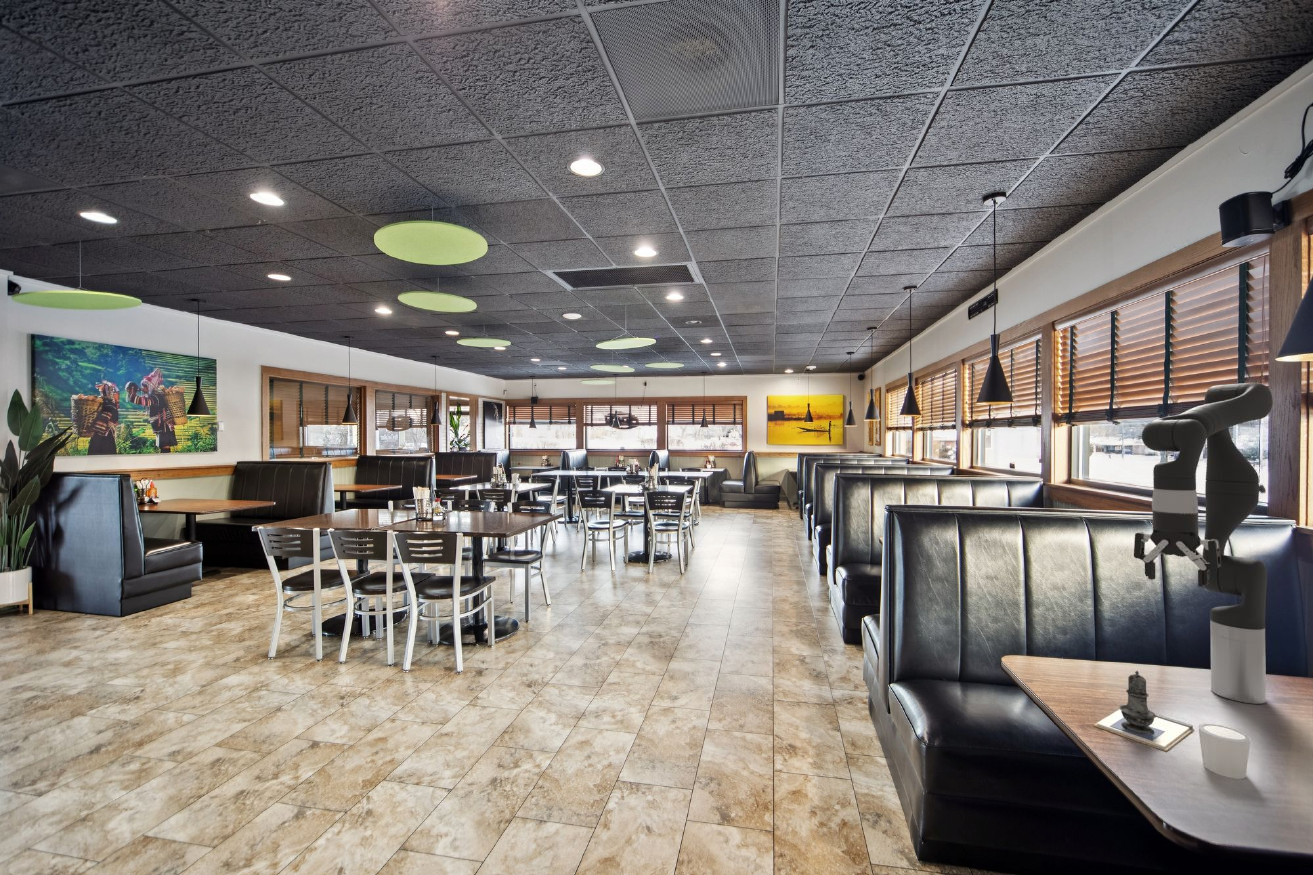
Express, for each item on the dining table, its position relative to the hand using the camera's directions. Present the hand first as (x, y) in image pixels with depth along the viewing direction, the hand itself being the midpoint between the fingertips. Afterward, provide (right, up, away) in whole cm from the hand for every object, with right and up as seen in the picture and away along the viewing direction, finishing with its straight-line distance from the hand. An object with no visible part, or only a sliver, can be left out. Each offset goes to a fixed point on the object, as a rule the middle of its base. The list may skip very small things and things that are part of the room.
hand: (1176, 582), depth 127 cm
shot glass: (-10, -29, -21) cm, 38 cm away
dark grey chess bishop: (-15, -29, -7) cm, 33 cm away
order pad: (-12, -29, -6) cm, 32 cm away
